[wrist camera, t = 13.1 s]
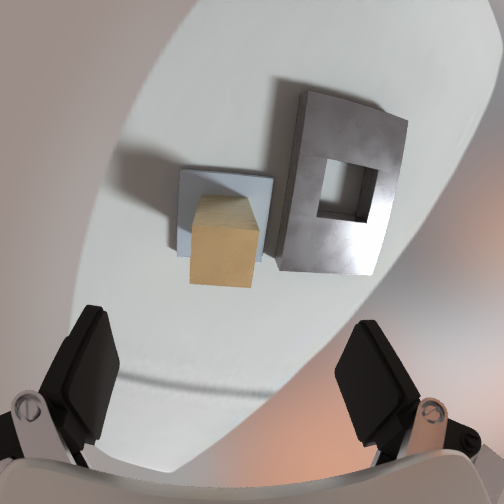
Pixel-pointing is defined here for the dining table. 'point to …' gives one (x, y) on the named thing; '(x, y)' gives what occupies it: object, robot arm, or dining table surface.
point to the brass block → (223, 242)
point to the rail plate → (311, 180)
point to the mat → (225, 185)
